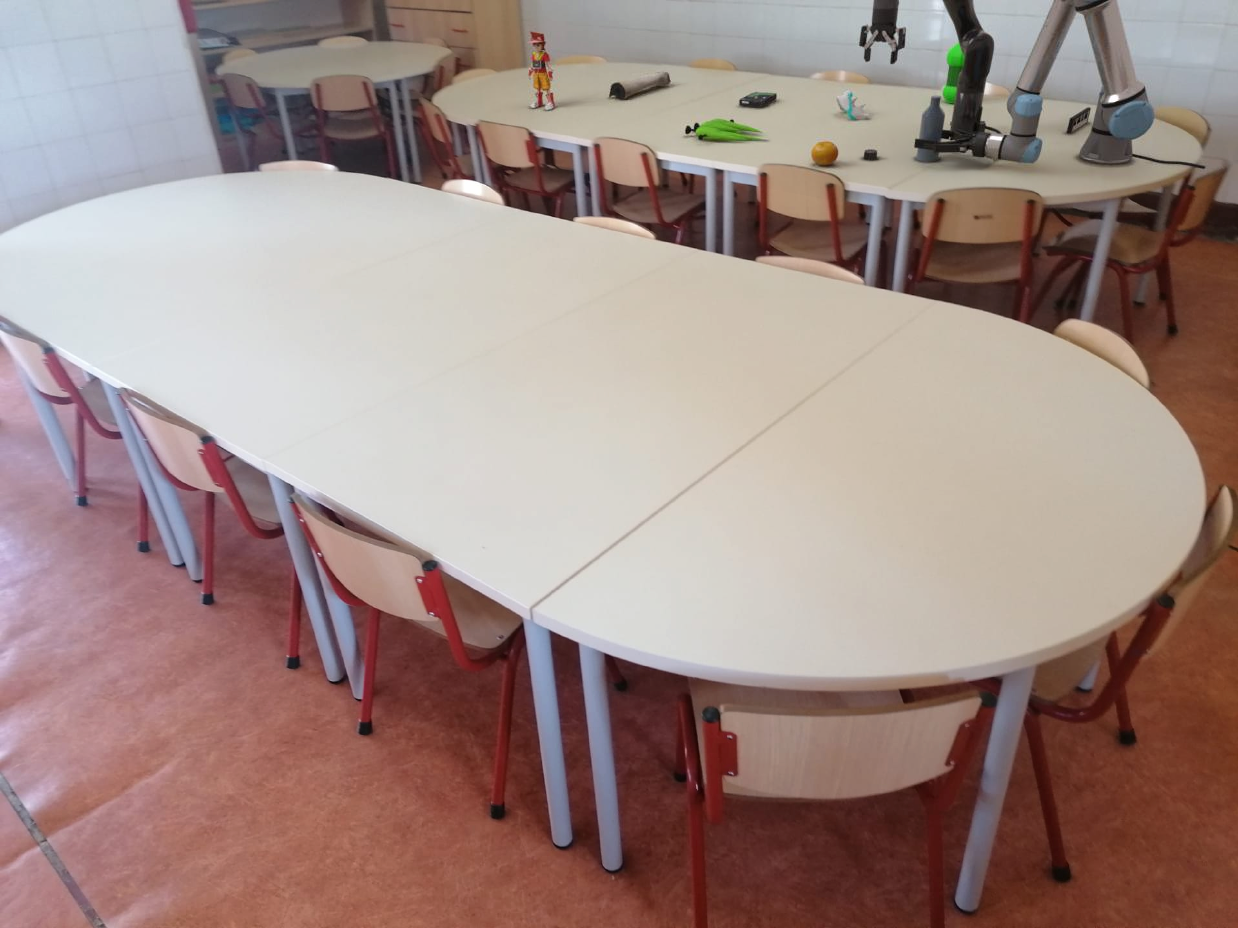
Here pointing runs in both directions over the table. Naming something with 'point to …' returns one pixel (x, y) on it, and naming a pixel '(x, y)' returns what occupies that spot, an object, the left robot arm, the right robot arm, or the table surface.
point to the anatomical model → (850, 105)
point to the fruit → (824, 153)
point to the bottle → (931, 129)
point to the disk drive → (757, 99)
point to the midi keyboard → (1078, 120)
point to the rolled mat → (638, 84)
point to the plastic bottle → (953, 72)
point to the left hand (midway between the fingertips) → (879, 62)
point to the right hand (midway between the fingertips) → (922, 138)
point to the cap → (870, 154)
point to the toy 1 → (541, 71)
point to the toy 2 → (721, 130)
